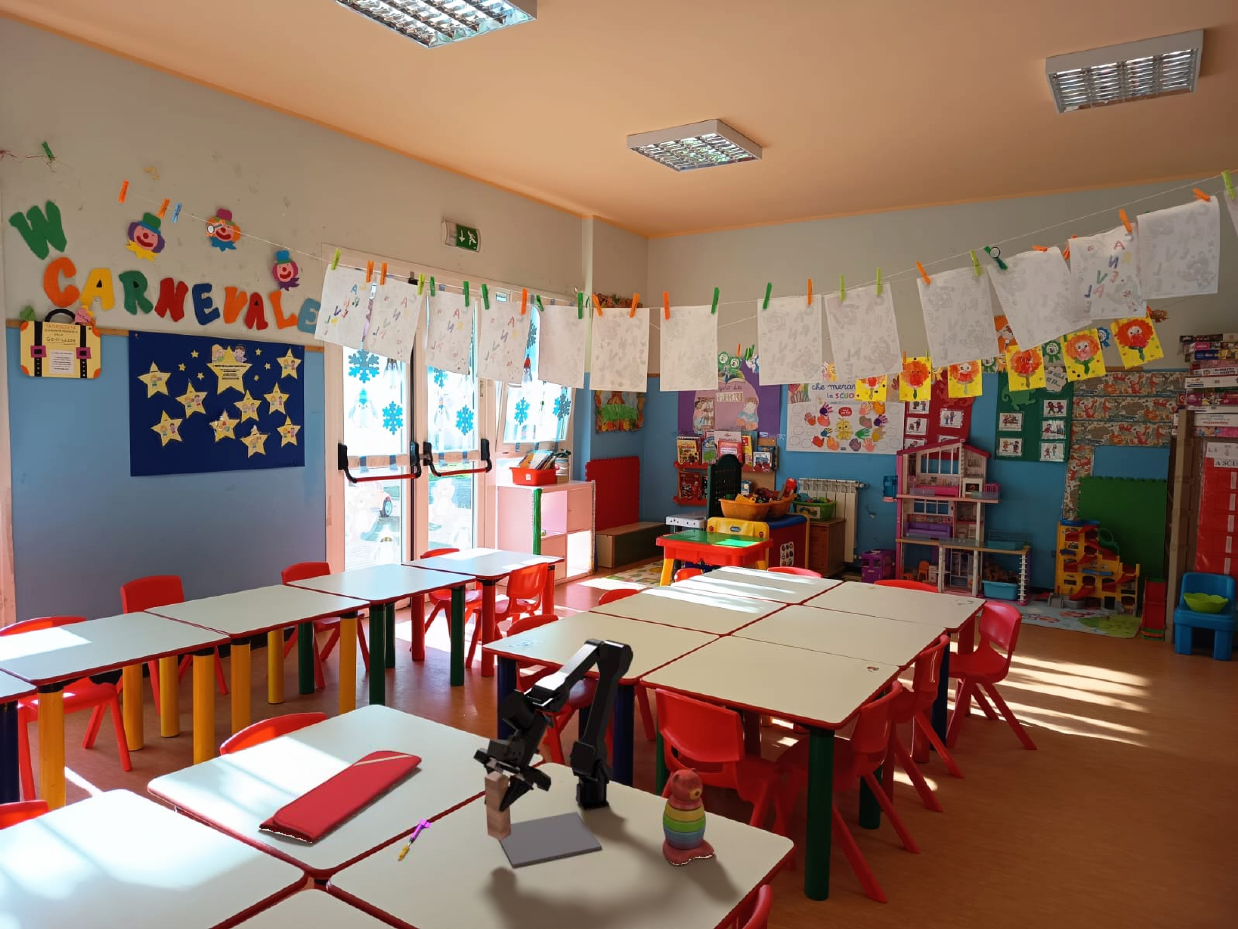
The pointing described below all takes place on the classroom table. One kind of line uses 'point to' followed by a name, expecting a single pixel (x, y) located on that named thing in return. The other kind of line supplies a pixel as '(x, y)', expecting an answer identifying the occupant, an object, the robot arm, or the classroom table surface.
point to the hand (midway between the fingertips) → (493, 808)
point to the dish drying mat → (341, 795)
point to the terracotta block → (497, 806)
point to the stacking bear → (685, 819)
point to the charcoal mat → (548, 839)
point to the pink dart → (421, 825)
